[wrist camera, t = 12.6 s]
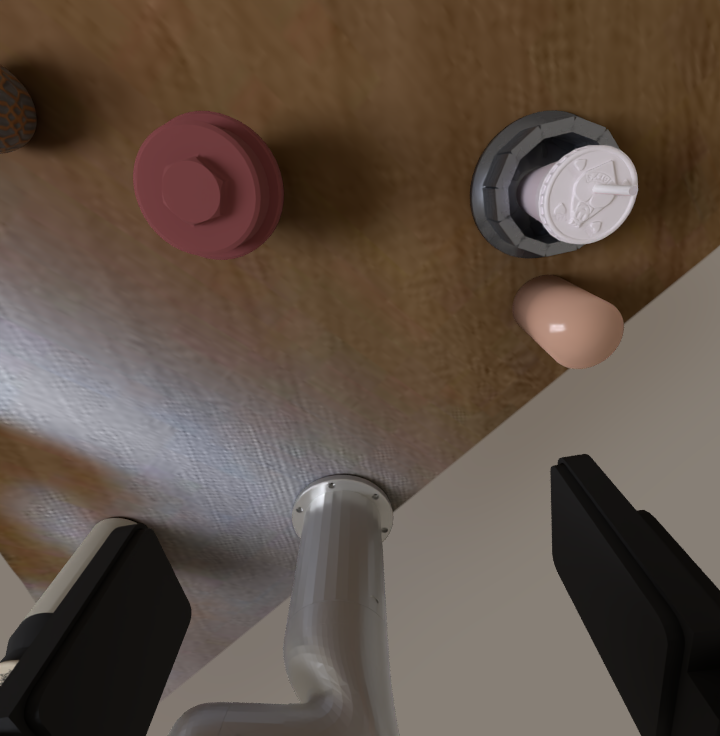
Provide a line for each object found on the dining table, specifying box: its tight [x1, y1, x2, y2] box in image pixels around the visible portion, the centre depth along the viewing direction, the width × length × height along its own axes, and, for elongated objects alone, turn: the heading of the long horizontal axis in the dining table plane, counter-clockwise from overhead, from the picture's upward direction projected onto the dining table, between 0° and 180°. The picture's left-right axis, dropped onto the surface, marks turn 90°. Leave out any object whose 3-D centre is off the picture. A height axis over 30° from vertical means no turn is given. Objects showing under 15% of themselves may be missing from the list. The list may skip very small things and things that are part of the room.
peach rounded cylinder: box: [513, 275, 624, 369], centre depth 39 cm, size 6×6×9 cm
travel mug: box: [0, 518, 137, 686], centre depth 48 cm, size 8×8×18 cm
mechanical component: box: [133, 111, 284, 260], centre depth 33 cm, size 12×10×10 cm
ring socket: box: [470, 111, 620, 258], centre depth 36 cm, size 12×12×5 cm
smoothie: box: [516, 145, 638, 244], centre depth 31 cm, size 6×6×14 cm
